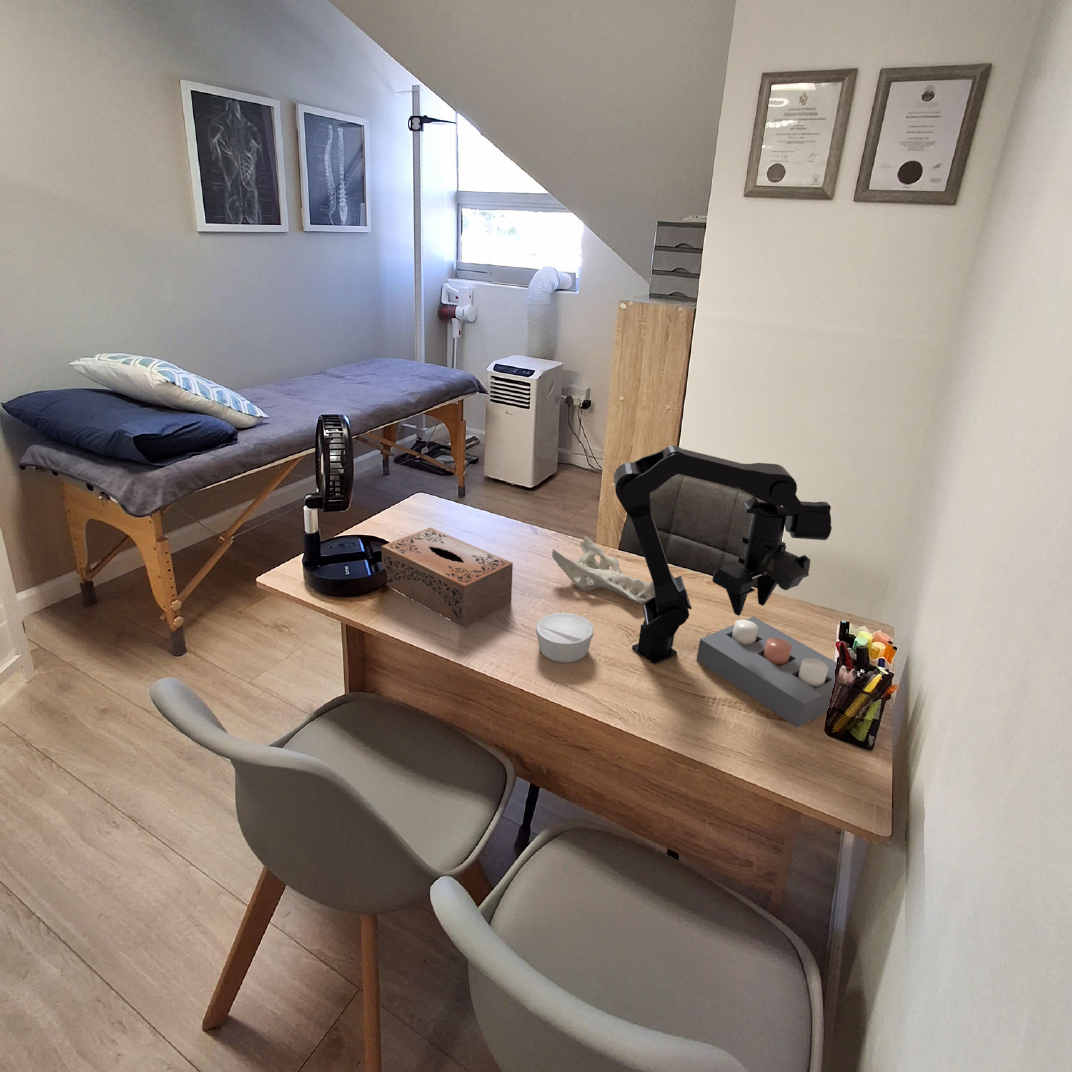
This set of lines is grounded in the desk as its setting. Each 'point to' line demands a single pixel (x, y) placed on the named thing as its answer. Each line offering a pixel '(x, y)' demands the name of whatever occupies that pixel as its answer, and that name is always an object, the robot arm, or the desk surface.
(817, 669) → the knob
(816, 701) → the housing
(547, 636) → the ramekin
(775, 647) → the knob middle
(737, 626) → the knob
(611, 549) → the desk surface
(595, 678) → the desk surface
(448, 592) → the tissue box cover
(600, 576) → the skull
